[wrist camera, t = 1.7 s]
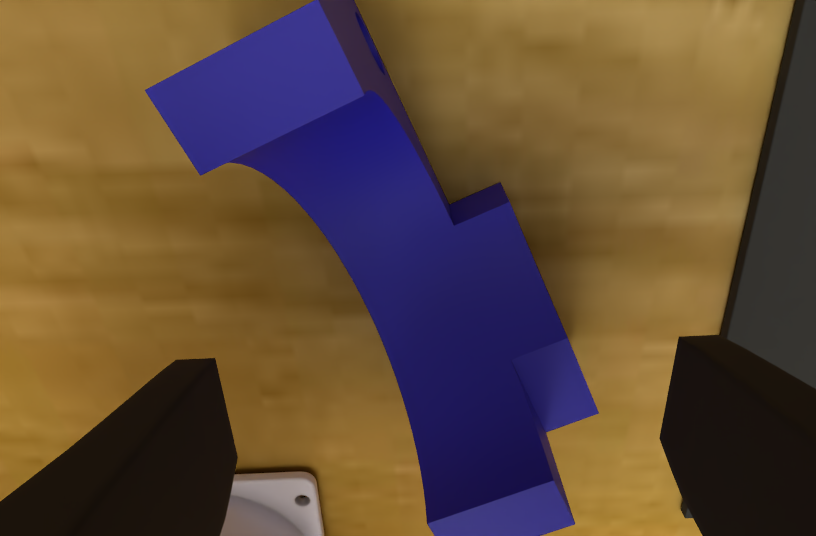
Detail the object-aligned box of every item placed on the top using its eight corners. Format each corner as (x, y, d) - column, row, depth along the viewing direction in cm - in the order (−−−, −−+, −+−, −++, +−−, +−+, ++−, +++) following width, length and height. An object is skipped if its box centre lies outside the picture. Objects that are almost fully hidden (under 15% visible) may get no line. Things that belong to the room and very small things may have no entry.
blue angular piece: (569, 349, 19) (639, 502, 13) (437, 399, 20) (453, 564, 14) (405, -46, 14) (412, -51, 8) (236, 44, 15) (144, 90, 9)
